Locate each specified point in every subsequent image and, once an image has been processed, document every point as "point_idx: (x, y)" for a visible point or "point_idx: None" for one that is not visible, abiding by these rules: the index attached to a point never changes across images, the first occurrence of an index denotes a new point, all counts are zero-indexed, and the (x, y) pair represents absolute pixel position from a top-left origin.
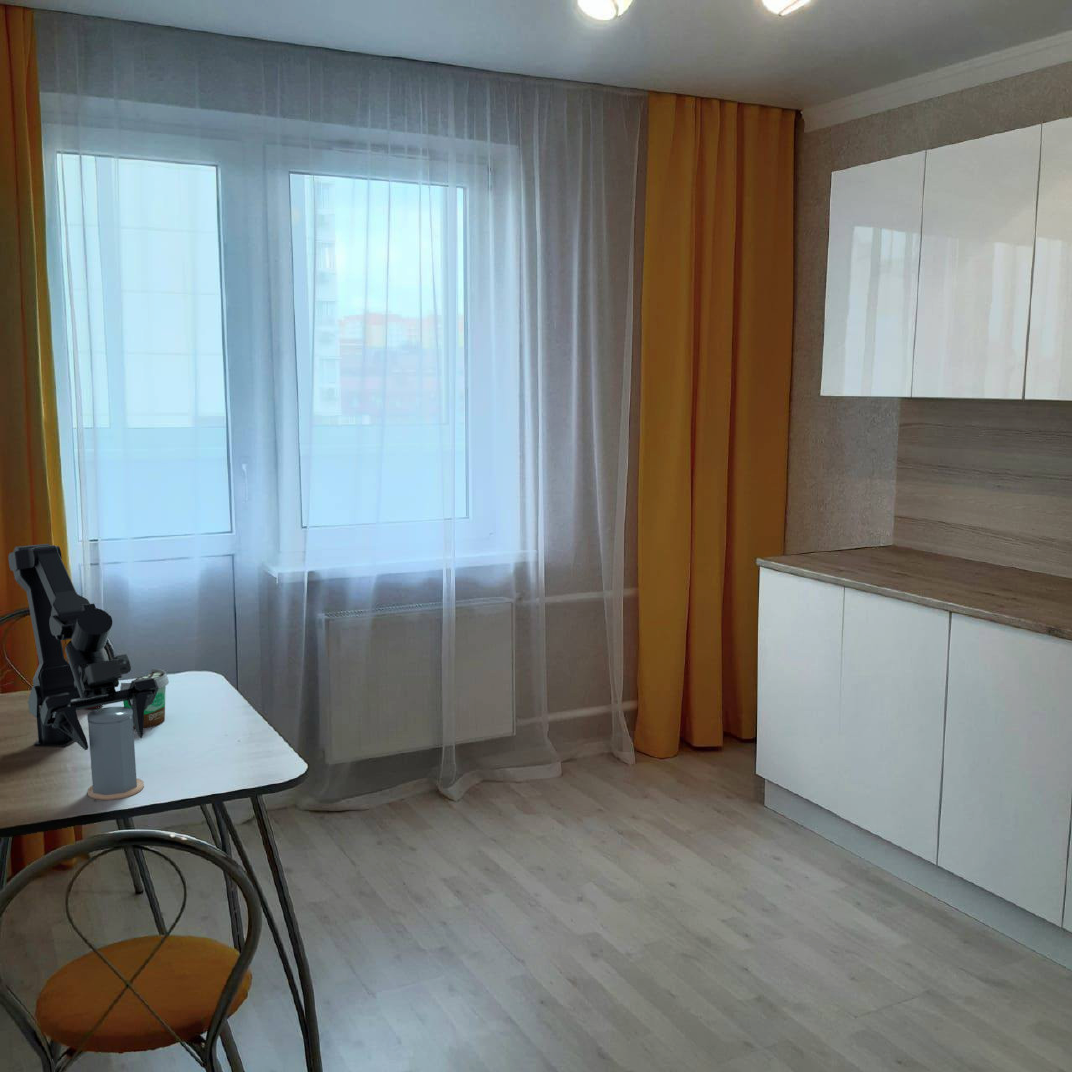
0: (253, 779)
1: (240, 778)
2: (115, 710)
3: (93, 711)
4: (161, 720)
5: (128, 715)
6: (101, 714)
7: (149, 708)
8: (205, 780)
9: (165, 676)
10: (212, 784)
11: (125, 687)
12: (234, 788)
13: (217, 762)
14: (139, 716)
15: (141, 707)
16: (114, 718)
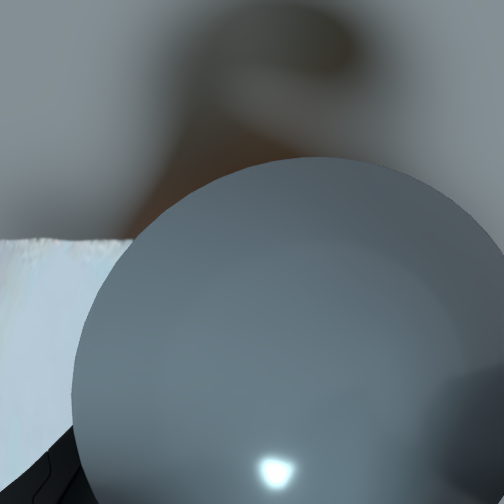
0: (5, 275)
1: (14, 295)
2: (292, 489)
3: (498, 492)
4: None
5: (163, 223)
6: (460, 366)
7: None
8: (58, 328)
9: None
10: (57, 293)
11: None
12: (42, 247)
13: (16, 424)
14: (71, 457)
15: (18, 499)
16: (319, 159)
